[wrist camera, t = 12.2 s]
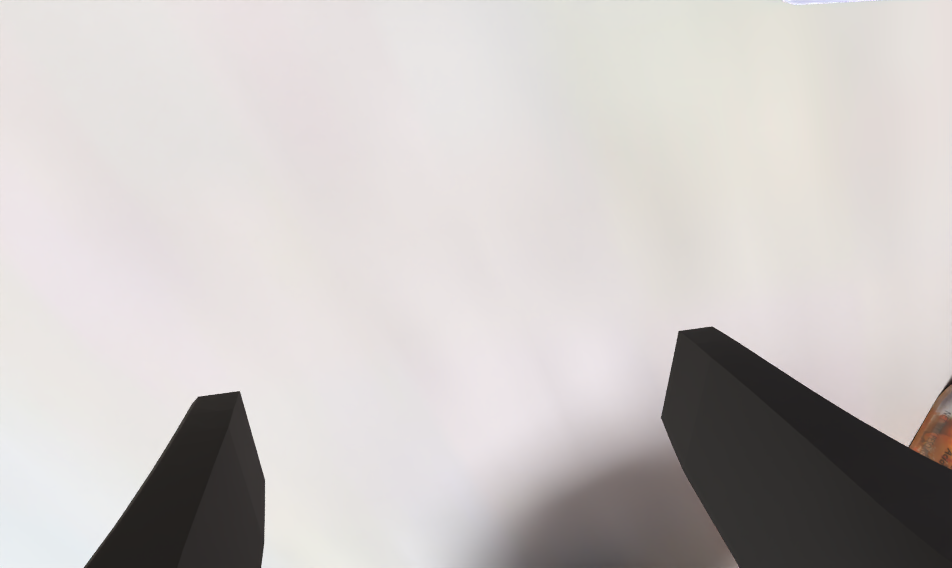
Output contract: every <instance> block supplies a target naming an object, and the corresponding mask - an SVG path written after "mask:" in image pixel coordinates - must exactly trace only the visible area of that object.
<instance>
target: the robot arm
mask: <svg viewBox="0 0 952 568" xmlns="http://www.w3.org/2000/svg"><path fill="white" fill-rule="evenodd" d="M782 1H784V2H786V3H789V4H794V5H803V4H821V3H839V2H856V1H874V0H782ZM661 419H662V421H663V424H664V426H665V429H666V431H667V434H668V436H669V439H670V441H671V443H672V446H673V448H674V451H675V453H676V455H677V457H678V460H679V462H680V464H681V466H682V469H683V471H684V473H685V474H686V476H687V478H688V480H689V482H690V483H691V485H692V487H693V489H694V490H695V492H696V494H697V495H698V497H699V499H700V501H701V502H702V504H703V506H704V508H705V509H706V511H707V513H708V514H709V516H710V518H711V519H712V521H713V523H714V525H715V526H716V528H717V530H718V531H719V533H720V535H721V536H722V538H723V540H724V542H725V543H726V545H727V547H728V548H729V550H730V552H731V553H732V555H733V557H734V558H735V560H736V562H737V564H738V565H739V567H740V568H952V470H951V469H949V468H947V467H945V466H943V465H941V464H939V463H937V462H935V461H933V460H931V459H929V458H927V457H925V456H923V455H922V454H920V453H918V452H916V451H914V450H912V449H910V448H908V447H907V446H905V445H903V444H901V443H899V442H898V441H896V440H894V439H892V438H891V437H889V436H887V435H885V434H884V433H882V432H880V431H878V430H877V429H875V428H873V427H871V426H870V425H868V424H866V423H864V422H863V421H861V420H859V419H857V418H856V417H854V416H853V415H851V414H849V413H848V412H846V411H844V410H843V409H841V408H839V407H838V406H836V405H834V404H833V403H831V402H830V401H828V400H826V399H825V398H823V397H822V396H820V395H818V394H817V393H815V392H814V391H812V390H811V389H809V388H807V387H806V386H804V385H803V384H801V383H800V382H798V381H796V380H795V379H793V378H792V377H790V376H789V375H787V374H786V373H784V372H783V371H781V370H780V369H778V368H777V367H775V366H773V365H772V364H770V363H769V362H767V361H766V360H764V359H763V358H761V357H760V356H758V355H757V354H755V353H754V352H752V351H751V350H749V349H748V348H746V347H744V346H743V345H741V344H740V343H738V342H737V341H735V340H734V339H732V338H730V337H729V336H727V335H726V334H724V333H722V332H721V331H719V330H717V329H715V328H714V327H705V328H698V329H691V330H683V331H679V333H678V338H677V342H676V347H675V352H674V357H673V362H672V367H671V372H670V377H669V382H668V387H667V391H666V396H665V401H664V406H663V411H662V416H661ZM264 524H265V479H264V475H263V472H262V468H261V465H260V461H259V458H258V454H257V450H256V447H255V443H254V440H253V436H252V433H251V429H250V426H249V422H248V419H247V415H246V411H245V408H244V404H243V401H242V397H241V394H240V391H237V392H230V393H223V394H215V395H208V396H201V397H198V398H197V399H196V400H195V401H194V402H193V403H192V405H191V407H190V408H189V410H188V412H187V414H186V415H185V417H184V419H183V420H182V422H181V424H180V425H179V427H178V429H177V430H176V432H175V434H174V435H173V437H172V439H171V440H170V442H169V444H168V445H167V447H166V449H165V450H164V452H163V453H162V455H161V457H160V458H159V460H158V461H157V463H156V465H155V466H154V468H153V469H152V471H151V472H150V474H149V476H148V477H147V479H146V480H145V482H144V483H143V485H142V486H141V488H140V489H139V491H138V492H137V494H136V495H135V497H134V498H133V500H132V501H131V503H130V504H129V506H128V507H127V509H126V510H125V512H124V513H123V515H122V516H121V517H120V519H119V520H118V522H117V523H116V525H115V526H114V527H113V529H112V530H111V532H110V533H109V534H108V536H107V537H106V538H105V540H104V541H103V542H102V544H101V545H100V546H99V548H98V549H97V551H96V552H95V553H94V555H93V556H92V557H91V559H90V560H89V561H88V563H87V564H86V565H85V567H84V568H261V564H262V556H263V548H264Z"/></svg>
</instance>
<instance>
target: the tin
mask: <svg viewBox="0 0 952 568" xmlns="http://www.w3.org/2000/svg"><path fill="white" fill-rule="evenodd" d="M909 448H910V449H912V450H914V451H916V452H918V453H920V454H922V455H923V456H925V457H927V458H929V459H931V460H933V461H935V462H937V463H939V464H941V465H943V466H945V467H947V468H949V469H951V470H952V384H951V385H950V386H949V387H948V388H946V389H945V390H944V391H943V392H942V393H941V395H940V396H939V397H938V398H937V400H936V401H935V403H934V404H933V406H932V408H931V410H930V411H929V413H928V415H927V417H926V419H925V420H924V422H923V424H922V426H921V427H920V429H919V431H918V433H917V434H916V436H915V438H914V440H913V442H912V444H911V445H910V447H909Z"/></svg>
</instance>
